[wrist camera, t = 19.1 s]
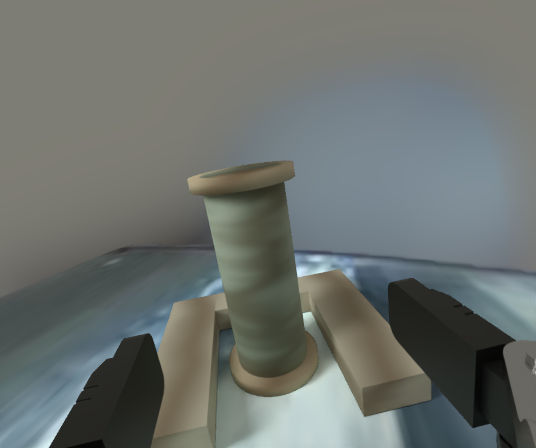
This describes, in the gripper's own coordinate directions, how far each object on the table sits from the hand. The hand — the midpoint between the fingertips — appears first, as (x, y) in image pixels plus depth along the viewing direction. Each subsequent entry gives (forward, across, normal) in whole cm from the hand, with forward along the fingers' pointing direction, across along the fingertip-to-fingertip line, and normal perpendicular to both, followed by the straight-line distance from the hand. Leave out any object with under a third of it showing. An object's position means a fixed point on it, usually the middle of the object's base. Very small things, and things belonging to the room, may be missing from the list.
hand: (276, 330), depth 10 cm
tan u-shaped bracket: (+11, 0, +10) cm, 14 cm away
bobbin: (+10, 0, +10) cm, 14 cm away
